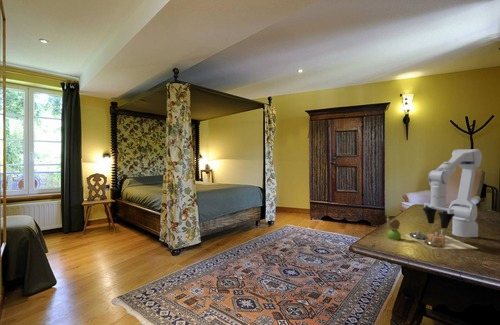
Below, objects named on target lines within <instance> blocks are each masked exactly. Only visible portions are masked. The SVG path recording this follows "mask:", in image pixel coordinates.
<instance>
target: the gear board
mask: <svg viewBox="0 0 500 325" xmlns="http://www.w3.org/2000/svg"><path fill="white" fill-rule="evenodd" d="M445 230H446V229H444V228H440V231H439V232H438V231H435V232H434V234H435V236H437V237H439V235H443V236H444V237H445V247H444V248H442V247H439V248H437V247H432V246H430V245H426V243H424V240H420V239H415V238H412V237H411V236H410V234H404V236H406V237H408V238H409V239H412V240H414V241H415V242H418V243H419V244H422V245H423V246H426V247H427V248H430V249H432V250H458V249H460V250H464V249H465V250H467V249H469V250H473V249H475V250H478V249H479V248H478V247H475V246H473V245H470V244H468V243H465V242H462V241H460V240H458V239H457V238H456V239H455V238H453V237H450V236H448V235H446V234H445V233H446V231H445ZM416 233H417V235H420V233H421V230H417V231H416ZM425 235H426V236H428V239H427V240H429V234H425ZM436 239H437V238H434V237H433V238H432V241H434V243H436Z"/></svg>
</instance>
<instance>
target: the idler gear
mask: <svg viewBox="0 0 500 325" xmlns="http://www.w3.org/2000/svg"><path fill="white" fill-rule="evenodd" d="M428 235H429V240H430V239H432V238H433V237H434V238H437V239H436V240H438V241H440V242H443V243H445V237H444V236H443V235H441V234H439V237H437V236H435V233H429V234H428Z"/></svg>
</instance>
